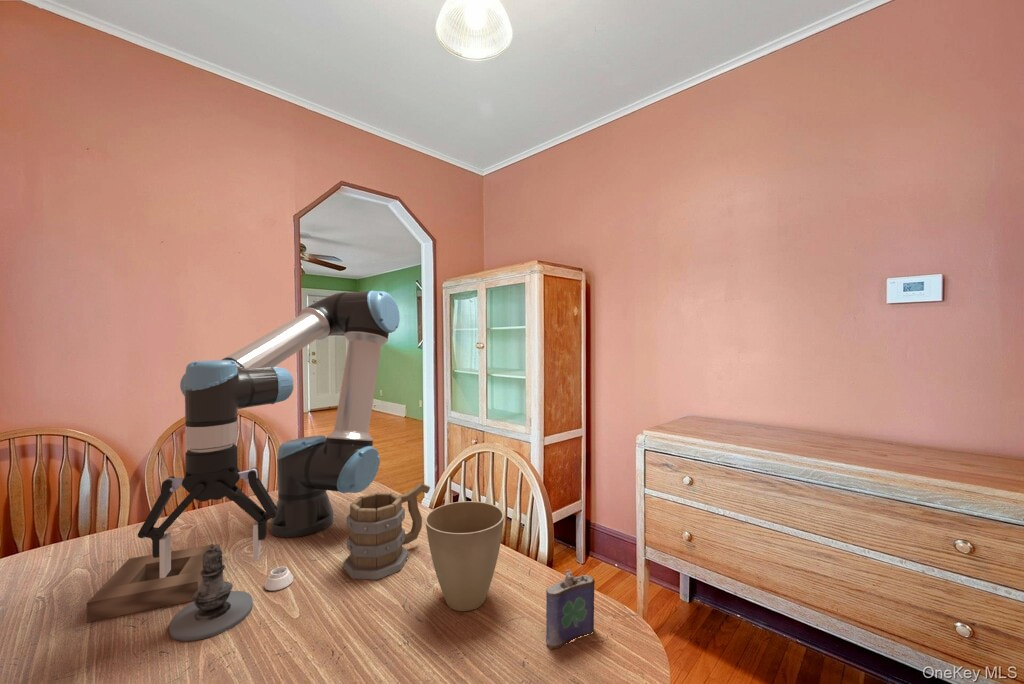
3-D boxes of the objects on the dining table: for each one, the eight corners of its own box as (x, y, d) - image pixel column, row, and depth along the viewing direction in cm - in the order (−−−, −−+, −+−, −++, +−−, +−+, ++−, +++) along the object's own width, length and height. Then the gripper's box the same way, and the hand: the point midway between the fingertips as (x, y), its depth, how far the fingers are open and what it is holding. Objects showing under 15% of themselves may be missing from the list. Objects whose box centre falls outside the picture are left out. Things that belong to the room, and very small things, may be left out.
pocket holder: (220, 558, 93) (219, 543, 93) (198, 599, 78) (197, 581, 78) (129, 574, 87) (129, 558, 87) (86, 622, 72) (86, 602, 72)
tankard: (359, 587, 82) (358, 512, 82) (337, 562, 92) (337, 495, 91) (444, 553, 95) (444, 488, 95) (418, 534, 105) (418, 475, 105)
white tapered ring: (280, 576, 86) (258, 589, 82) (280, 562, 86) (258, 574, 82) (298, 580, 85) (277, 594, 80) (298, 566, 85) (277, 579, 80)
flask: (551, 651, 65) (551, 584, 65) (541, 640, 68) (541, 574, 68) (597, 633, 69) (597, 569, 69) (587, 622, 72) (587, 561, 72)
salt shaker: (211, 624, 70) (211, 554, 70) (183, 620, 71) (182, 551, 71) (240, 602, 76) (240, 537, 76) (214, 599, 77) (213, 535, 77)
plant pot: (514, 584, 83) (514, 505, 83) (486, 634, 69) (486, 539, 69) (448, 571, 88) (448, 496, 88) (409, 615, 74) (409, 526, 74)
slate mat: (257, 590, 81) (257, 585, 81) (245, 629, 70) (245, 623, 70) (183, 605, 77) (183, 600, 77) (157, 650, 66) (157, 643, 66)
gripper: (292, 435, 82) (293, 542, 82) (132, 449, 72) (133, 570, 72) (288, 444, 75) (289, 560, 75) (110, 460, 65) (111, 594, 65)
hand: (212, 565), depth 73 cm, fingers open, 13 cm apart
